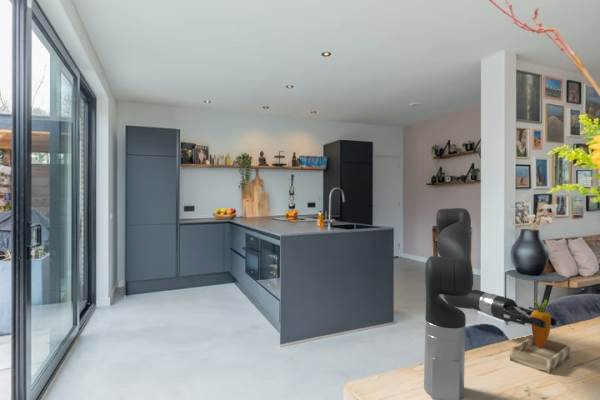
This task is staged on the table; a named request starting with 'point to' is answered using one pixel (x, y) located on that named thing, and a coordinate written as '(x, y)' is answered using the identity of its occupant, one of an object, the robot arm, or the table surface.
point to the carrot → (539, 333)
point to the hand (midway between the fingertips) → (550, 323)
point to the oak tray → (540, 354)
